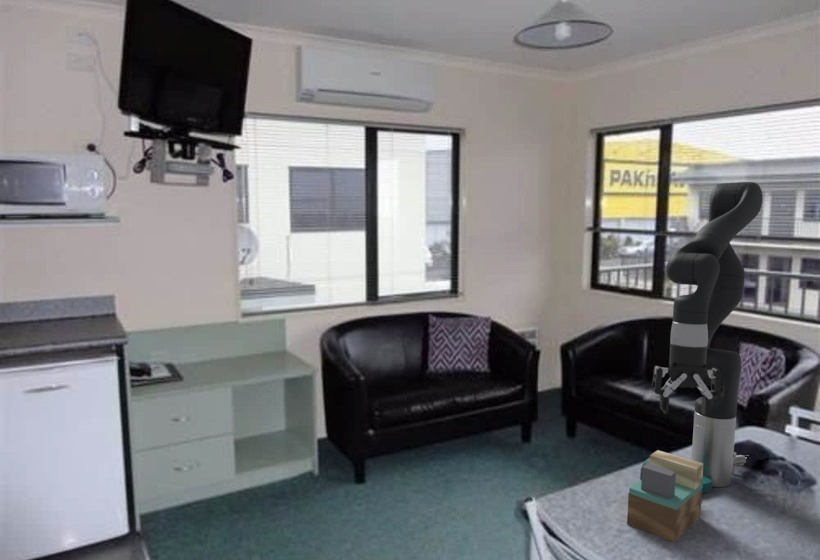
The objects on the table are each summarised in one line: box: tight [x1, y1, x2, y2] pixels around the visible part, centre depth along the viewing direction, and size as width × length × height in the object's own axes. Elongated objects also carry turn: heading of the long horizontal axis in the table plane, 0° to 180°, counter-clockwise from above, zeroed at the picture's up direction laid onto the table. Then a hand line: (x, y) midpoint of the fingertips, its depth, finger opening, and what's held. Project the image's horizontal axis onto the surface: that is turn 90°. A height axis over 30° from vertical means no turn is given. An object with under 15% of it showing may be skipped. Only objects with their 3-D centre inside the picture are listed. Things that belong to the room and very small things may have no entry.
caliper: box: [732, 451, 747, 476], centre depth 158 cm, size 20×1×6 cm, turn 125°
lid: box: [628, 463, 703, 510], centre depth 129 cm, size 14×10×7 cm
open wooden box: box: [626, 489, 703, 543], centre depth 130 cm, size 14×10×7 cm
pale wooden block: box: [649, 449, 703, 489], centre depth 132 cm, size 4×10×4 cm, turn 44°
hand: (684, 413), depth 135 cm, fingers open, 8 cm apart
